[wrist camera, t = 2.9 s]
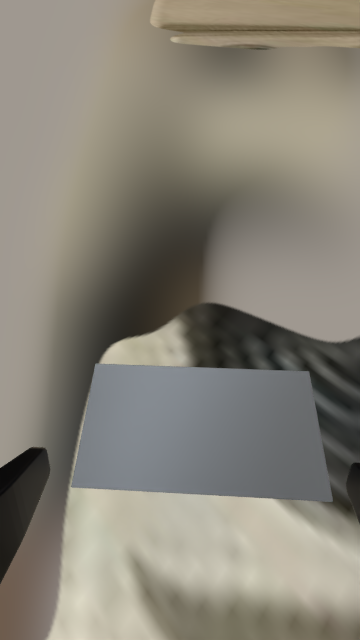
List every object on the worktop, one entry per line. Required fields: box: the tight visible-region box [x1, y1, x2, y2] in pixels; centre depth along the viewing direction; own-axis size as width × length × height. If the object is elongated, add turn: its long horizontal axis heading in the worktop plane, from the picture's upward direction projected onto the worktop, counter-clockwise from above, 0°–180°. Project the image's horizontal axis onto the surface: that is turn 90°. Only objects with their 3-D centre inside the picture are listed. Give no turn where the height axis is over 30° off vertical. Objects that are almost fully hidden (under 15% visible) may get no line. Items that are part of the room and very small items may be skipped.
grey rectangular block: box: [71, 364, 333, 502], centre depth 11 cm, size 3×5×12 cm, turn 87°
